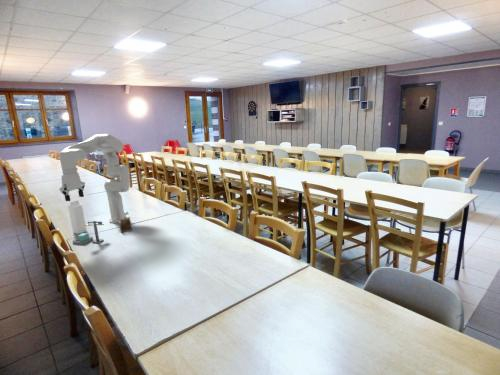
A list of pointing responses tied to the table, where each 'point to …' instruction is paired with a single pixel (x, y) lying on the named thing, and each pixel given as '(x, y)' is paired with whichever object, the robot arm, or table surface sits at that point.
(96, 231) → the balance stand
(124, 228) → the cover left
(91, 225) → the balance beam
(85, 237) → the block
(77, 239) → the dish
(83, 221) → the milk
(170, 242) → the table surface
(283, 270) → the table surface
